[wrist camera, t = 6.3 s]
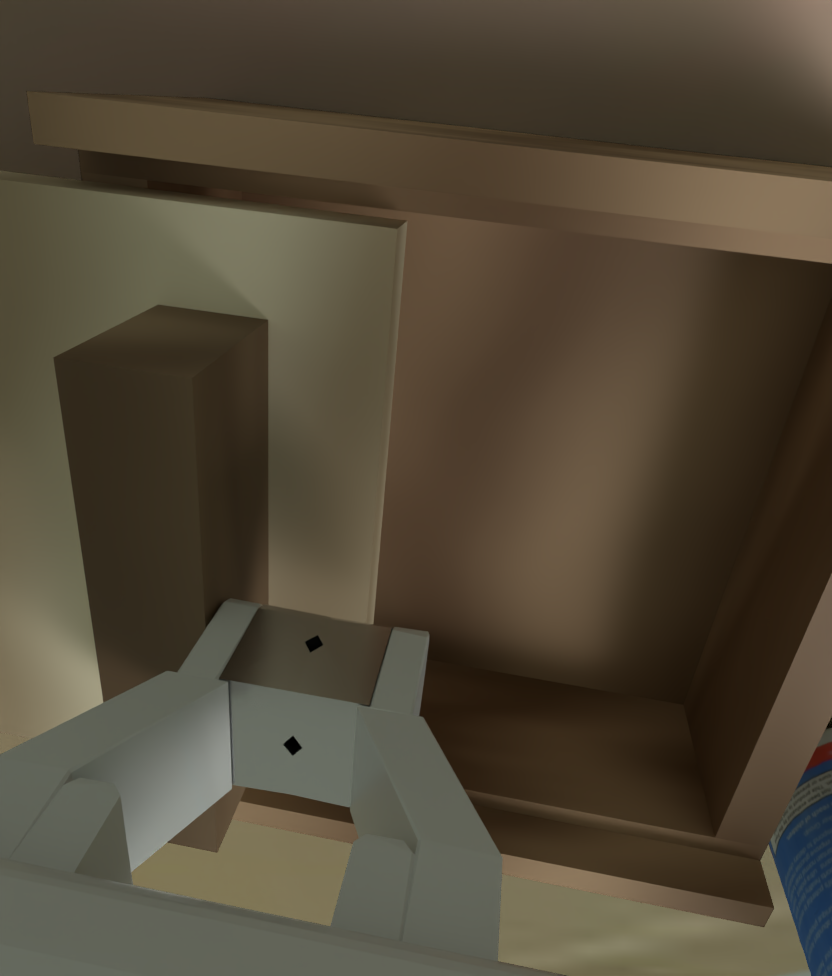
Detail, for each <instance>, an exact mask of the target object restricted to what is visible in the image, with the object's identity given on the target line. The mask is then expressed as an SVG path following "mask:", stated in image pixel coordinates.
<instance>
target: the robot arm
mask: <svg viewBox="0 0 832 976" xmlns="http://www.w3.org/2000/svg"><path fill="white" fill-rule="evenodd" d="M428 647H429V633H428V631H421V630H414V629H407V628H400V627H394V628H393V627H387V626H381V625H375V624H369V623H363V622H357V621H350V620H344V619H338V618H332V617H328V616H323V615H318V614H313V613H307V612H302V611H297V610H292V609H287V608H282V607H276V606H271V605H266V604H264V605H262V604H259V603H253V602H248V601H242V600H237V599H232V598H230V599H228V600H226V601H225V602H223V603H222V604H221V606H220V607H219V609H218V610H217V612H216V614H215V615H214V617H213V618H212V620H211V621H210V623H209V624H208V626H207V627H206V629H205V630H204V632H203V634H202V635H201V637H200V638H199V640H198V641H197V643H196V644H195V646H194V647H193V649H192V650H191V652H190V653H189V655H188V657H187V658H186V660H185V661H184V663H183V664H182V666H181V667H180V669H179V670H178V672H172V671H165V672H163V673H161V674H159V675H157V676H155V677H153V678H151V679H149V680H148V681H146V682H144V683H142V684H140V685H138V686H136V687H134V688H132V689H130V690H128V691H126V692H124V693H122V694H120V695H118V696H116V697H114V698H112V699H110V700H108V701H106V702H104V703H102V704H100V705H98V706H96V707H94V708H92V709H90V710H88V711H86V712H84V713H82V714H80V715H78V716H76V717H74V718H72V719H70V720H68V721H66V722H64V723H62V724H60V725H58V726H56V727H54V728H52V729H50V730H48V731H46V732H44V733H42V734H40V735H38V736H36V737H34V738H32V739H30V740H28V741H26V742H24V743H22V744H20V745H18V746H16V747H14V748H12V749H10V750H8V751H6V752H4V753H2V754H0V976H566V975H561V974H557V973H552V972H547V971H542V970H537V969H533V968H528V967H523V966H518V965H514V964H509V963H504V962H499V961H498V943H499V922H500V901H501V880H502V860H503V858H502V856H501V854H500V852H499V851H498V849H497V847H496V845H495V843H494V842H493V840H492V838H491V836H490V835H489V833H488V831H487V829H486V827H485V826H484V824H483V822H482V820H481V819H480V817H479V815H478V813H477V812H476V810H475V808H474V806H473V804H472V803H471V801H470V799H469V797H468V796H467V794H466V792H465V790H464V788H463V787H462V785H461V783H460V781H459V780H458V778H457V776H456V774H455V773H454V771H453V769H452V767H451V765H450V764H449V762H448V760H447V758H446V757H445V755H444V753H443V751H442V749H441V748H440V746H439V744H438V742H437V741H436V739H435V737H434V735H433V734H432V732H431V730H430V728H429V726H428V725H427V723H426V721H425V719H424V718H423V717H421V716H419V713H420V706H421V699H422V692H423V685H424V677H425V669H426V662H427V654H428ZM232 785H236V786H242V787H248V788H254V789H260V790H267V791H273V792H279V793H285V794H291V795H296V796H300V797H305V798H309V799H314V800H318V801H323V802H327V803H332V804H336V805H341V806H345V807H350V812H351V815H352V819H353V822H354V825H355V828H356V831H357V834H358V837H359V839H357V840H355V841H354V842H353V846H352V849H351V853H350V857H349V860H348V864H347V868H346V871H345V875H344V879H343V882H342V886H341V890H340V893H339V897H338V901H337V904H336V908H335V912H334V915H333V919H332V923H331V926H326V925H321V924H317V923H312V922H307V921H302V920H297V919H292V918H288V917H283V916H278V915H273V914H268V913H264V912H259V911H254V910H249V909H245V908H240V907H235V906H230V905H225V904H221V903H216V902H211V901H206V900H202V899H197V898H192V897H187V896H182V895H178V894H173V893H168V892H163V891H159V890H154V889H149V888H144V887H139V886H135V885H133V882H132V875H131V872H132V871H133V870H134V869H135V868H137V867H138V866H139V865H140V864H142V863H143V862H144V861H145V860H146V859H148V858H149V857H150V856H151V855H152V854H154V853H155V852H156V851H157V850H158V849H160V848H161V847H162V846H163V845H165V844H166V843H167V842H168V841H169V840H171V839H172V838H173V837H174V836H175V835H177V834H178V833H179V832H180V831H181V830H183V829H184V828H185V827H186V826H188V825H189V824H190V823H191V822H192V821H194V820H195V819H196V818H197V817H198V816H200V815H201V814H202V813H203V812H204V811H206V810H207V809H208V808H209V807H211V806H212V805H213V804H214V803H215V802H217V801H218V800H219V799H220V798H221V797H223V796H224V795H225V794H226V793H228V792H229V791H230V790H231V789H232Z"/></svg>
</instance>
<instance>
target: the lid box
mask: <svg viewBox="0 0 832 976" xmlns="http://www.w3.org/2000/svg"><path fill="white" fill-rule="evenodd" d="M26 93H27V100H28V107H29V115H30V122H31V129H32V136H33V143H34V144H38V145H46V146H54V147H63V148H71V149H78V153H79V162H80V171H81V180H82V181H90V182H98V183H106V184H114V185H122V186H130V187H138V188H146V189H155V190H163V191H171V192H179V193H187V194H195V195H203V196H211V197H219V198H228V199H236V200H244V201H252V202H260V203H268V204H276V205H284V206H292V207H301V208H309V209H317V210H325V211H333V212H341V213H349V214H357V215H365V216H374V217H382V218H390V219H398V220H406V221H407V233H406V245H405V256H404V268H403V280H402V292H401V304H400V315H399V327H398V339H397V351H396V363H395V374H394V386H393V398H392V410H391V422H390V434H389V445H388V457H387V469H386V481H385V493H384V504H383V516H382V528H381V540H380V552H379V563H378V575H377V587H376V599H375V611H374V622H373V624H375V625H381V626H387V627H393V628H394V627H400V628H407V629H414V630H421V631H428V633H429V647H428V654H427V662H426V669H425V677H424V685H423V692H422V699H421V706H420V713H419V716H421V717H423V718H424V719H425V721H426V723H427V725H428V726H429V728H430V730H431V732H432V734H433V735H434V737H435V739H436V741H437V742H438V744H439V746H440V748H441V749H442V751H443V753H444V755H445V757H446V758H447V760H448V762H449V764H450V765H451V767H452V769H453V771H454V773H455V774H456V776H457V778H458V780H459V781H460V783H461V785H462V787H463V788H464V790H465V792H466V794H467V796H468V797H469V799H470V801H471V803H472V804H473V806H474V808H475V810H476V812H477V813H478V815H479V817H480V819H481V820H482V822H483V824H484V826H485V827H486V829H487V831H488V833H489V835H490V836H491V838H492V840H493V842H494V843H495V845H496V847H497V849H498V851H499V852H500V854H501V856H502V858H503V860H502V874H504V875H509V876H514V877H519V878H524V879H529V880H534V881H539V882H544V883H549V884H553V885H558V886H563V887H568V888H573V889H578V890H583V891H588V892H593V893H598V894H603V895H608V896H613V897H617V898H622V899H627V900H632V901H637V902H642V903H647V904H652V905H657V906H662V907H667V908H672V909H676V910H681V911H686V912H691V913H696V914H701V915H706V916H711V917H716V918H721V919H726V920H731V921H736V922H740V923H745V924H750V925H755V926H760V927H764V926H765V924H766V923H767V921H768V919H769V917H770V915H771V913H772V911H773V910H774V906H773V903H772V899H771V896H770V892H769V889H768V886H767V882H766V879H765V875H764V872H763V868H762V865H761V862H760V860H761V858H762V856H763V854H764V852H765V850H766V848H767V846H768V844H769V842H770V840H771V838H772V836H773V834H774V832H775V830H776V828H777V826H778V824H779V822H780V820H781V818H782V816H783V814H784V812H785V810H786V808H787V806H788V804H789V802H790V800H791V798H792V796H793V794H794V792H795V790H796V788H797V786H798V783H799V781H800V779H801V777H802V775H803V773H804V771H805V769H806V767H807V765H808V763H809V761H810V759H811V757H812V755H813V753H814V751H815V749H816V747H817V745H818V743H819V741H820V739H821V737H822V735H823V733H824V731H825V729H826V727H827V725H828V723H829V721H830V719H831V717H832V167H825V166H816V165H807V164H798V163H789V162H780V161H771V160H762V159H753V158H744V157H735V156H726V155H717V154H708V153H699V152H690V151H680V150H671V149H662V148H653V147H644V146H635V145H626V144H617V143H608V142H599V141H590V140H581V139H572V138H563V137H554V136H545V135H536V134H527V133H518V132H509V131H500V130H491V129H482V128H473V127H463V126H454V125H445V124H436V123H427V122H418V121H409V120H400V119H391V118H382V117H373V116H364V115H355V114H346V113H337V112H328V111H319V110H310V109H301V108H292V107H283V106H274V105H265V104H256V103H247V102H237V101H228V100H219V99H210V98H194V97H168V96H141V95H115V94H88V93H62V92H35V91H26ZM232 819H233V820H238V821H243V822H248V823H253V824H258V825H263V826H268V827H273V828H278V829H283V830H288V831H293V832H297V833H302V834H307V835H312V836H317V837H322V838H327V839H332V840H337V841H342V842H347V843H352V844H353V842H354V841H355V840H357V839H359V837H358V834H357V831H356V828H355V825H354V822H353V819H352V815H351V812H350V807H345V806H341V805H336V804H332V803H327V802H323V801H318V800H314V799H309V798H305V797H300V796H296V795H291V794H285V793H279V792H273V791H267V790H260V789H254V788H248V787H246V788H245V790H244V793H243V795H242V797H241V800H240V802H239V804H238V806H237V809H236V811H235V813H234V816H233V818H232Z"/></svg>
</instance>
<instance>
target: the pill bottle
mask: <svg viewBox="0 0 832 976" xmlns="http://www.w3.org/2000/svg"><path fill="white" fill-rule="evenodd" d="M769 846H770V850H771V852H772V855H773V858H774V861H775V864H776V867H777V870H778V873H779V876H780V880H781V883H782V886H783V889H784V892H785V895H786V898H787V901H788V904H789V907H790V910H791V913H792V917H793V920H794V923H795V926H796V929H797V932H798V935H799V939H800V942H801V945H802V947H803V950H804V953H805V956H806V960H807V963H808V967H809V969H810V972H811V976H832V728H828V729H825V731H824V733H823V735H822V737H821V739H820V741H819V743H818V745H817V747H816V749H815V751H814V753H813V755H812V757H811V759H810V761H809V763H808V765H807V767H806V769H805V771H804V773H803V775H802V777H801V779H800V781H799V783H798V786H797V788H796V790H795V792H794V794H793V796H792V798H791V800H790V802H789V804H788V806H787V808H786V810H785V812H784V814H783V816H782V818H781V820H780V822H779V824H778V826H777V828H776V830H775V832H774V834H773V836H772V838H771V840H770V842H769Z"/></svg>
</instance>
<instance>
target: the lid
mask: <svg viewBox="0 0 832 976" xmlns="http://www.w3.org/2000/svg"><path fill="white" fill-rule="evenodd" d="M406 233H407V221H406V220H398V219H390V218H382V217H374V216H365V215H357V214H349V213H341V212H333V211H325V210H317V209H309V208H301V207H292V206H284V205H276V204H268V203H260V202H252V201H244V200H236V199H228V198H219V197H211V196H203V195H195V194H187V193H179V192H171V191H163V190H155V189H146V188H138V187H130V186H122V185H114V184H106V183H98V182H90V181H81V180H73V179H65V178H57V177H49V176H41V175H33V174H25V173H17V172H8V171H0V733H6V734H11V735H16V736H21V737H26V738H31V739H32V738H34V737H36V736H38V735H40V734H42V733H44V732H46V731H48V730H50V729H52V728H54V727H56V726H58V725H60V724H62V723H64V722H66V721H68V720H70V719H72V718H74V717H76V716H78V715H80V714H82V713H84V712H86V711H88V710H90V709H92V708H94V707H96V706H98V705H100V704H102V703H104V702H106V701H108V700H110V699H112V698H114V697H116V696H118V695H120V694H122V693H124V692H126V691H128V690H130V689H132V688H134V687H136V686H138V685H140V684H142V683H144V682H146V681H148V680H149V679H151V678H153V677H155V676H157V675H159V674H161V673H163V672H165V671H172V672H178V670H179V669H180V667H181V666H182V664H183V663H184V661H185V660H186V658H187V657H188V655H189V653H190V652H191V650H192V649H193V647H194V646H195V644H196V643H197V641H198V640H199V638H200V637H201V635H202V634H203V632H204V630H205V629H206V627H207V626H208V624H209V623H210V621H211V620H212V618H213V617H214V615H215V614H216V612H217V610H218V609H219V607H220V606H221V604H222V603H223V602H225V601H226V600H228V599H230V598H232V599H237V600H242V601H248V602H253V603H259V604H262V605H264V604H266V605H271V606H276V607H282V608H287V609H292V610H297V611H302V612H307V613H313V614H318V615H323V616H328V617H332V618H338V619H344V620H350V621H357V622H363V623H369V624H373V622H374V611H375V599H376V587H377V575H378V563H379V552H380V540H381V528H382V516H383V504H384V493H385V481H386V469H387V457H388V445H389V434H390V422H391V410H392V398H393V386H394V374H395V363H396V351H397V339H398V327H399V315H400V304H401V292H402V280H403V268H404V256H405V245H406ZM245 788H246V787H242V786H236V785H232V789H231V790H230V791H229V792H228V793H226V794H225V795H224V796H223V797H221V798H220V799H219V800H218V801H217V802H215V803H214V804H213V805H212V806H211V807H209V808H208V809H207V810H206V811H204V812H203V813H202V814H201V815H200V816H198V817H197V818H196V819H195V820H194V821H192V822H191V823H190V824H189V825H188V826H186V827H185V828H184V829H183V830H181V831H180V832H179V833H178V834H177V835H175V836H174V837H173V838H172V839H171V840H169V841H168V843H173V844H178V845H183V846H187V847H192V848H197V849H202V850H207V851H211V852H216V853H217V852H218V850H219V848H220V845H221V843H222V841H223V838H224V836H225V834H226V832H227V829H228V827H229V825H230V822H231V820H232V818H233V816H234V813H235V811H236V809H237V806H238V804H239V802H240V800H241V797H242V795H243V793H244V790H245Z"/></svg>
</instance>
